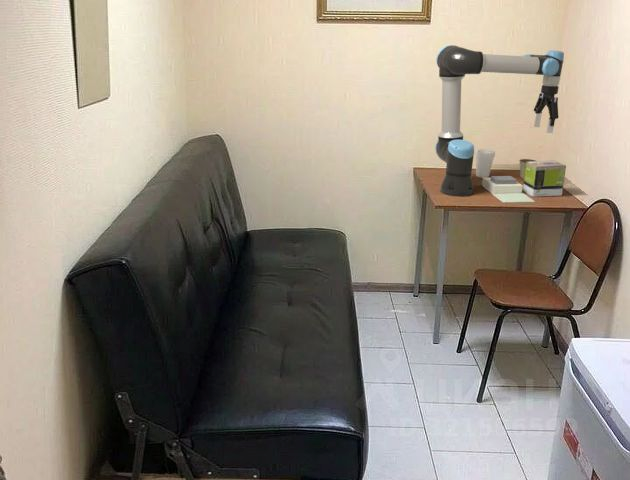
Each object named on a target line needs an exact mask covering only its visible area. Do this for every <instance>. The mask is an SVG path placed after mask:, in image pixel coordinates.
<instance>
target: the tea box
mask: <svg viewBox="0 0 630 480" xmlns="http://www.w3.org/2000/svg"><path fill="white" fill-rule="evenodd" d="M566 169H567V165H565V164H563V163H561V162H558V161H557V160H536V161H530V162H527V163H526V170H525V178H524V179H523V184H522V185H523V188H522V192H524V194H525V193H526V195H529V197H530V196H531V198H532V197H533V198H534V197H553V196H554V197H555V196H558V197H559V196H562V195H563V190H564V189H563V188H564V184H565V176H566Z"/></svg>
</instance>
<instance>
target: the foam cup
mask: <svg viewBox="0 0 630 480" xmlns="http://www.w3.org/2000/svg"><path fill="white" fill-rule="evenodd" d="M474 155H475V175H476V177H478V178H482V179H483V178H490V177H489V176H490V175H491V174H490V173H491V170H492V166H493V162H494V159H495V155H496V151H495V150H493V149H488V148H477V149H476V150H475V153H474Z"/></svg>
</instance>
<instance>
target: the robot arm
mask: <svg viewBox="0 0 630 480" xmlns="http://www.w3.org/2000/svg"><path fill="white" fill-rule="evenodd" d="M564 58H565V52H564V51H561V50H548V51H547V53H546V54H524V55H522V56H521V55H505V54H486V53H484V52H483V51H478V50H471V49H468V48H465V47H461V46H459V45H453V44H452V45H446V46H444V47H442V48H441V49H440V50H439V51H438V52H437V55H436V64H437V65H436V66H437V67H438V68H439V70H438V71H439V72H438V73H439V74H438V78H440V80H441V81H442V83H441V84H442V86H441V87H442V88H441V89H442V91H441V94H442V95H441V99H442V100H441V131H440V132H439V133H438V138H437V139H438V140H437V141H436V143H435V146H434V147H435V149H434V150H435V153H436V156H437V157H438V158H439V159H440V160H441V161H442V162H445V163H446V167H445V169H446V170H445V175H444V177H443V180H442V182H441V184H440V188H439V189H440V190H439V191H440V192H441V193H443V194H445V195H449V196H452V197H453V196H454V197H468V196H471V195H473V194H474V184H473V180H472V170H473V164H474V163H473V162H474V157H475V156H474V155H475V145H474V144H473V143H472V142H471V141H468V140H465V139H464V133H463V132H462V131H461V113H462V112H461V111H462V110H461V109H462V108H461V107H462V80H463V79H464V78H465V76H466V75H480V74H481V73H495V74H496V73H497V74H519V75H520V74H522V75H538V76H539V75H542V76H543V77H542V83H541V84H542V85H541V88H540V89H541V90H540V93H539V95H538V98H537V101H536V103H535V106H534V108H533V112H535V116H534V124H533V128H540V126H541V121H542V115H543V114H542V113H543V110H544V109H545V107H547V110H548V116H549V117H548V123H547V128H546V133H547V134H554V133H553V132H554V128H555V123H556V120H557V119H559V105H558V102H559V98H558V97H555V95H558V93H559V88H560V87H559V85H560V80H561V76H562V70H563V63H564Z"/></svg>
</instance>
